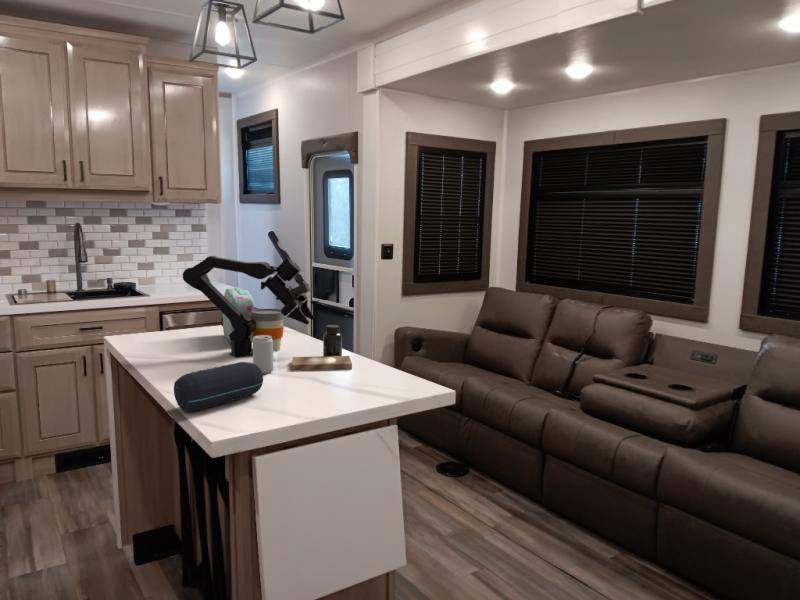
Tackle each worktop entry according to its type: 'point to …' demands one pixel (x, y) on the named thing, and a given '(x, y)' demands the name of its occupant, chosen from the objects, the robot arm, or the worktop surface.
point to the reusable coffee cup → (269, 325)
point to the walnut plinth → (322, 363)
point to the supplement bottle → (332, 341)
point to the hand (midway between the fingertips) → (311, 321)
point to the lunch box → (241, 303)
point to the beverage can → (263, 353)
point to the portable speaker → (217, 385)
